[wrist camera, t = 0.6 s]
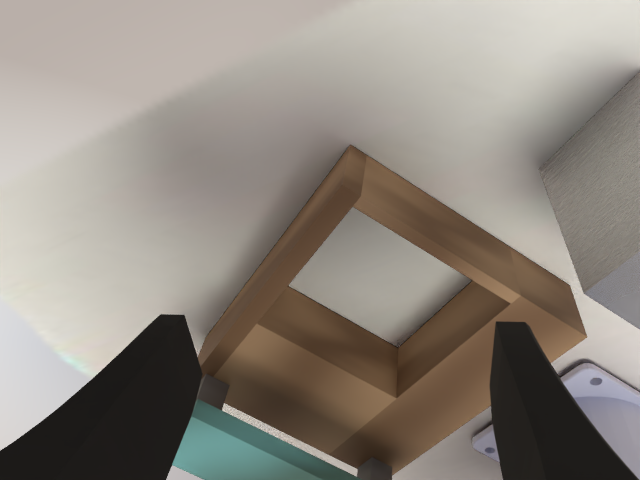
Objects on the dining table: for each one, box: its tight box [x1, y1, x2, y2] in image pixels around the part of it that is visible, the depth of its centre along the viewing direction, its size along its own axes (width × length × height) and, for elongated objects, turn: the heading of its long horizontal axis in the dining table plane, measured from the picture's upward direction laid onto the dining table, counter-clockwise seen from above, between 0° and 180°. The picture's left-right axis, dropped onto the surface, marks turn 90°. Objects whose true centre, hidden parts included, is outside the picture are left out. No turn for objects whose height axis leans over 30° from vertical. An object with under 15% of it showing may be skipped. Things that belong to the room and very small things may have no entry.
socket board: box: [172, 145, 587, 480], centre depth 24 cm, size 11×13×7 cm
